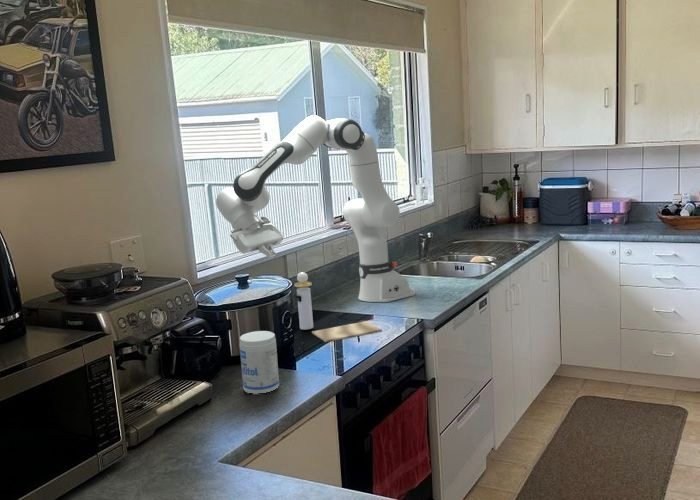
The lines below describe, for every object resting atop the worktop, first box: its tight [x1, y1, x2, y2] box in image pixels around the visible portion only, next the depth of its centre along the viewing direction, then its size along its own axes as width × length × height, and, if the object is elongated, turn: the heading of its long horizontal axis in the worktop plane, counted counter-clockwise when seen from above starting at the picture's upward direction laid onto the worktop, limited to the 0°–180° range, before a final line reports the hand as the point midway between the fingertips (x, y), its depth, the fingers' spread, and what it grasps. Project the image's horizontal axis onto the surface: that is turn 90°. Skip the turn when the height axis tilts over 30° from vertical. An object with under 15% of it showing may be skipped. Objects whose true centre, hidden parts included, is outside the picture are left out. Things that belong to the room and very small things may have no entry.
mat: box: [311, 320, 383, 343], centre depth 229 cm, size 20×12×1 cm, turn 114°
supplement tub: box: [239, 330, 280, 395], centre depth 183 cm, size 10×10×15 cm
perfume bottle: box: [294, 271, 314, 331], centre depth 233 cm, size 6×6×20 cm
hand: (272, 255), depth 238 cm, fingers closed
